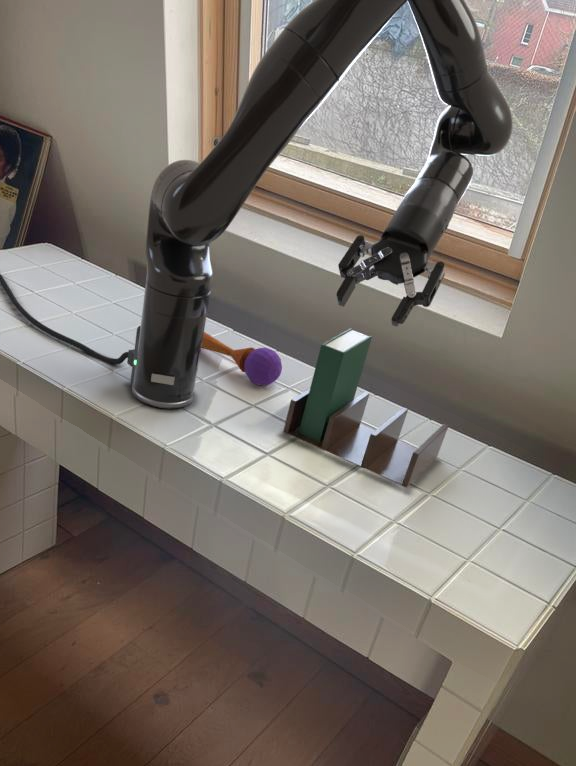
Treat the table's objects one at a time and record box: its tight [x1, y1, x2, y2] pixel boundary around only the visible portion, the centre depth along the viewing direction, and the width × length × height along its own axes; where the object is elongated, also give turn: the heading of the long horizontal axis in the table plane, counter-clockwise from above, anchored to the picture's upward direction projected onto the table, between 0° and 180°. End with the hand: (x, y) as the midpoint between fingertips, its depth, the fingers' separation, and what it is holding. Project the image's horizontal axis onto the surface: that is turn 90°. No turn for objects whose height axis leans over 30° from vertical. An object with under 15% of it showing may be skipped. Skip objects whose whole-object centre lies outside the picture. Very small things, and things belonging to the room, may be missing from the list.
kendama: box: [201, 331, 283, 386], centre depth 136 cm, size 6×6×20 cm
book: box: [299, 327, 373, 442], centre depth 119 cm, size 4×10×14 cm, turn 145°
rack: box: [283, 387, 449, 488], centre depth 119 cm, size 20×12×6 cm, turn 55°
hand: (366, 313), depth 117 cm, fingers open, 8 cm apart
